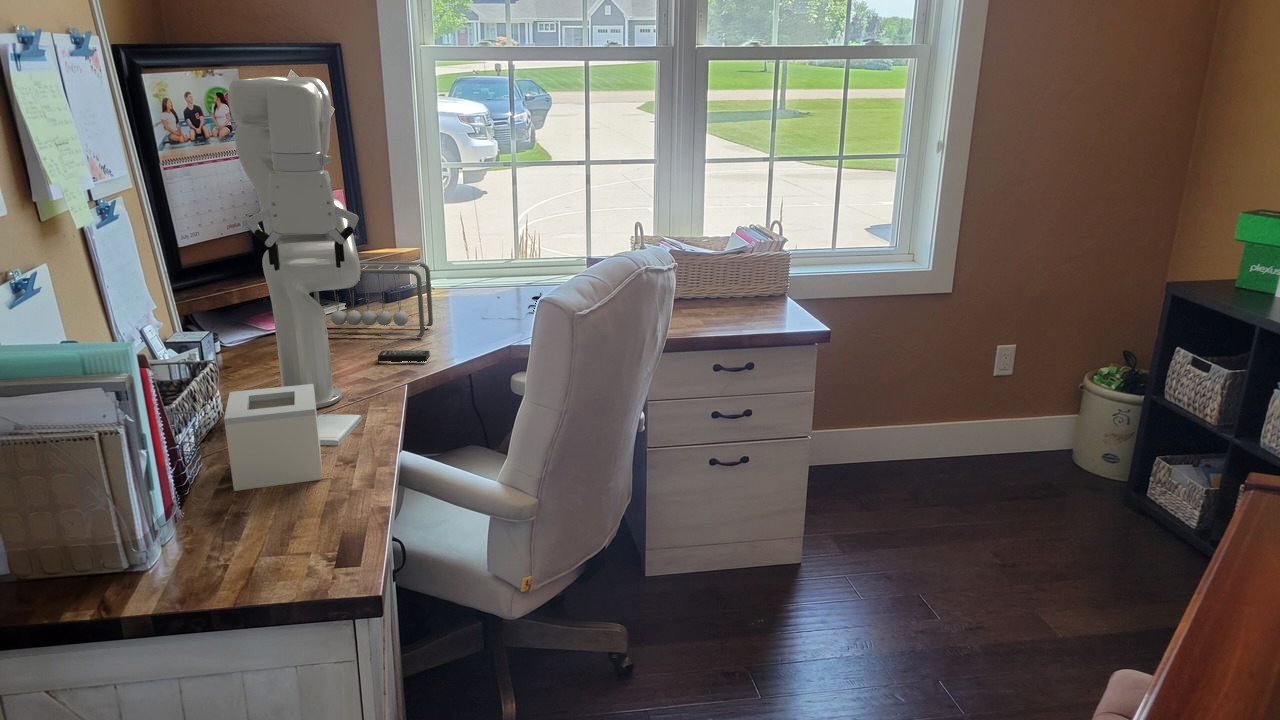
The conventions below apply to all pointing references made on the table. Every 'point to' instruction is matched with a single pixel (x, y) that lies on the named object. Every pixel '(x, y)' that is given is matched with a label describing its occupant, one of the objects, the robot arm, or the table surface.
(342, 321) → the newton's cradle
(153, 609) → the table surface
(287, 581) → the table surface
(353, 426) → the hard drive
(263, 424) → the drop box
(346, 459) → the table surface
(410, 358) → the multiport hub
